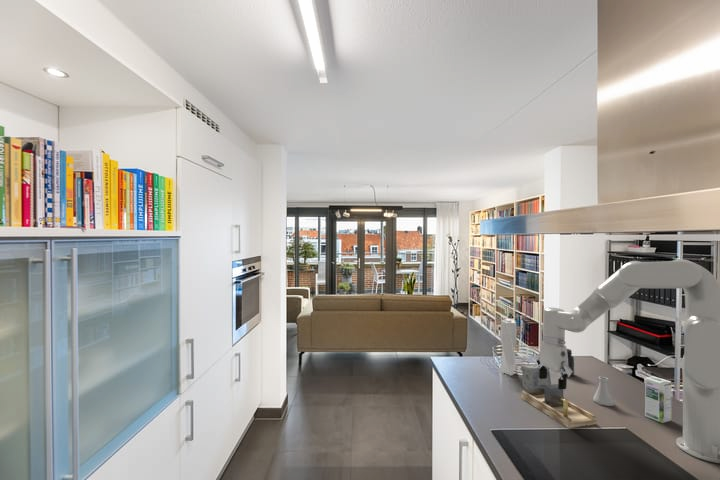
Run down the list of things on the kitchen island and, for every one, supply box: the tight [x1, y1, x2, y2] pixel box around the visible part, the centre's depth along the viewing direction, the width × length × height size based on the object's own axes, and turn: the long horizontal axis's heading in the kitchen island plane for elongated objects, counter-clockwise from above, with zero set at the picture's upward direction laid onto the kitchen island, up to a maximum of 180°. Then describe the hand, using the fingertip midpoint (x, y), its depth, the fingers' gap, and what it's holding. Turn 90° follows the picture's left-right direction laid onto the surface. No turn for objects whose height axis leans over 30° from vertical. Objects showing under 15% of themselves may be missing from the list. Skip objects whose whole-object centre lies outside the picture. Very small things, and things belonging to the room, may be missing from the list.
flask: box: [592, 376, 615, 407], centre depth 141 cm, size 7×7×10 cm
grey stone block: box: [520, 362, 552, 388], centre depth 155 cm, size 10×8×10 cm
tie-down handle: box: [542, 383, 564, 407], centre depth 136 cm, size 3×8×7 cm, turn 103°
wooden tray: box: [520, 385, 597, 429], centre depth 135 cm, size 24×12×9 cm, turn 14°
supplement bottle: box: [561, 348, 575, 377], centre depth 172 cm, size 7×7×12 cm
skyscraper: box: [500, 315, 518, 376], centre depth 173 cm, size 8×8×28 cm
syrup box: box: [644, 375, 672, 424], centre depth 129 cm, size 6×6×14 cm
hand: (552, 383), depth 136 cm, fingers open, 9 cm apart
